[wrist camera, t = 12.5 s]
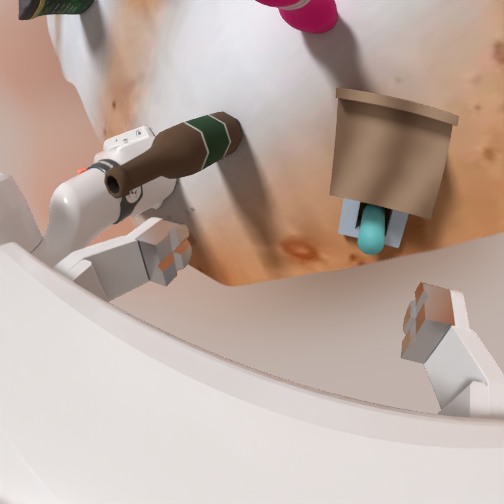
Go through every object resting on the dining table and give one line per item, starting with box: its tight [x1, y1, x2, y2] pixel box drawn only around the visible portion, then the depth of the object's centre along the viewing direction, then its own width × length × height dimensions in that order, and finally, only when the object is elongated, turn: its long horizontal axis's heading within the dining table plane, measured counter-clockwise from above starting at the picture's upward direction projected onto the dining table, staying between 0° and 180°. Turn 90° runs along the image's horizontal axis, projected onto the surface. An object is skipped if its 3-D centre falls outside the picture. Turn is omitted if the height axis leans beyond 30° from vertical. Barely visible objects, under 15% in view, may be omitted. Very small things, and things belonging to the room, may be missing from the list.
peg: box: [358, 203, 385, 255], centre depth 37 cm, size 4×4×10 cm
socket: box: [338, 198, 409, 248], centre depth 37 cm, size 10×16×3 cm, turn 0°
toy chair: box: [330, 88, 459, 220], centre depth 28 cm, size 12×12×14 cm
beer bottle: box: [104, 112, 243, 199], centre depth 35 cm, size 8×8×24 cm
